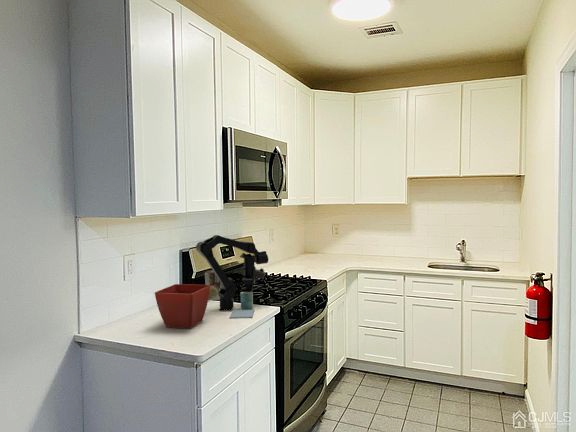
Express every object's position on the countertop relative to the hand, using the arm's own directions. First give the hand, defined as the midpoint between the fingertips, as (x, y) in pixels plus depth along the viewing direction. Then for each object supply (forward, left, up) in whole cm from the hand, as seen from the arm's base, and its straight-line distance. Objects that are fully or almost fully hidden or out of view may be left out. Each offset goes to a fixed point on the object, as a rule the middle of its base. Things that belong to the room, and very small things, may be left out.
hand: (250, 294), depth 227 cm
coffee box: (-22, +15, -6) cm, 27 cm away
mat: (-2, -18, -6) cm, 19 cm away
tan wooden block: (-1, -9, -6) cm, 11 cm away
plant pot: (-28, -31, -6) cm, 42 cm away
